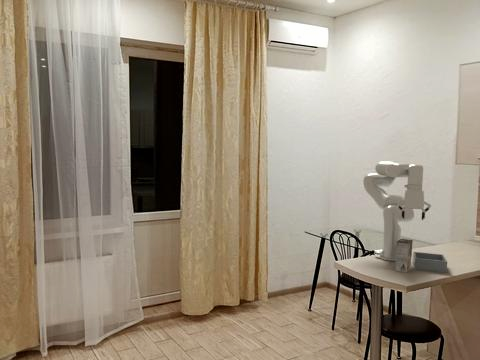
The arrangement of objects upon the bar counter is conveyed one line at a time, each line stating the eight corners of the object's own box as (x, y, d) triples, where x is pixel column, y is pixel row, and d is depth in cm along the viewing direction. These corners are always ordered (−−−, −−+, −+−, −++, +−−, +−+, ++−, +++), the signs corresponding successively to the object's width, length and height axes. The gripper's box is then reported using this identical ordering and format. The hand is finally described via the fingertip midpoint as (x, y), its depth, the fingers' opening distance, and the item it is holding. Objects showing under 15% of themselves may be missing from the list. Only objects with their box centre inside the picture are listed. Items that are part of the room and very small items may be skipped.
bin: (414, 269, 240) (415, 258, 240) (412, 261, 255) (413, 251, 255) (446, 272, 235) (447, 261, 235) (442, 265, 250) (443, 254, 250)
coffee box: (398, 266, 244) (400, 238, 242) (410, 268, 240) (413, 239, 239) (394, 270, 236) (396, 241, 234) (407, 272, 233) (409, 242, 231)
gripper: (397, 187, 238) (396, 218, 239) (432, 189, 232) (430, 221, 233) (397, 186, 245) (395, 216, 246) (431, 188, 239) (429, 219, 241)
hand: (412, 219), depth 240 cm, fingers open, 9 cm apart
